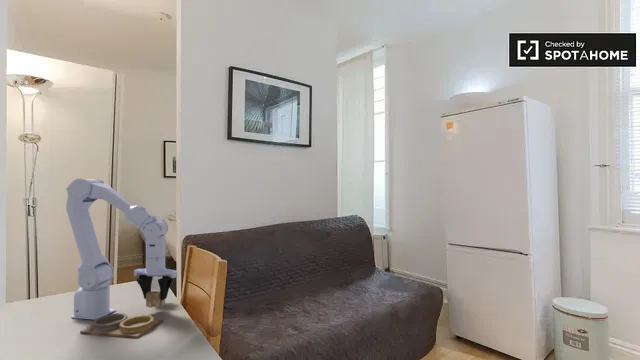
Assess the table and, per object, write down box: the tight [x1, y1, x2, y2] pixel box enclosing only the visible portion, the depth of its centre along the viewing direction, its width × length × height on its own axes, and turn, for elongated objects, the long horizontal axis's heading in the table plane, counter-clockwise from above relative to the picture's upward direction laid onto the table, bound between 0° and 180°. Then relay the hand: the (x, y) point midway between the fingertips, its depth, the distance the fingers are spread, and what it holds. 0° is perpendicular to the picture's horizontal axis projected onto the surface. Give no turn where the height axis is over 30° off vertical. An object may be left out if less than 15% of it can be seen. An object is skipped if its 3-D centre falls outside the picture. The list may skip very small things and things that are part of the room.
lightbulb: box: [151, 276, 162, 291], centre depth 116 cm, size 6×6×11 cm
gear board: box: [80, 312, 164, 339], centre depth 96 cm, size 18×11×2 cm, turn 80°
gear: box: [145, 290, 166, 309], centre depth 107 cm, size 5×5×4 cm
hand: (155, 298), depth 107 cm, fingers closed on gear, 5 cm apart
